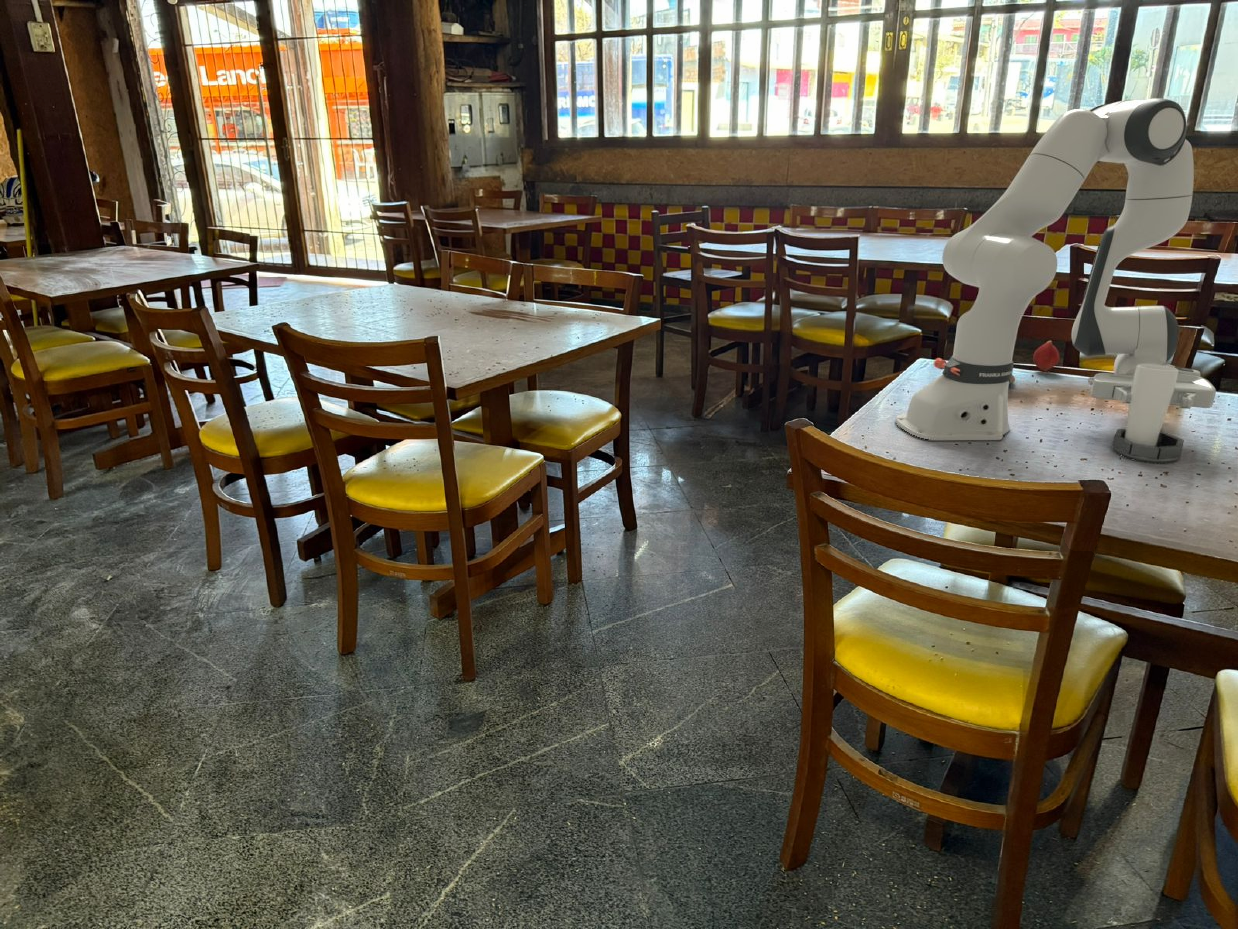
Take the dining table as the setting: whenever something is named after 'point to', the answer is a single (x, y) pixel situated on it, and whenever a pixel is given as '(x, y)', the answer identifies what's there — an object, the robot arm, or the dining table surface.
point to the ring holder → (1149, 448)
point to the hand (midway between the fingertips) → (1157, 401)
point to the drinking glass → (1149, 402)
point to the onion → (1046, 356)
